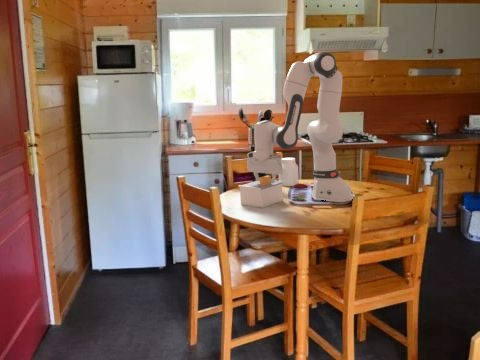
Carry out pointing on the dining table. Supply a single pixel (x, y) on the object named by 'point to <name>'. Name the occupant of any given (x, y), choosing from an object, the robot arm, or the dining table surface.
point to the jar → (289, 172)
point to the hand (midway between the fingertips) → (265, 181)
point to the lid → (263, 183)
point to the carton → (261, 195)
